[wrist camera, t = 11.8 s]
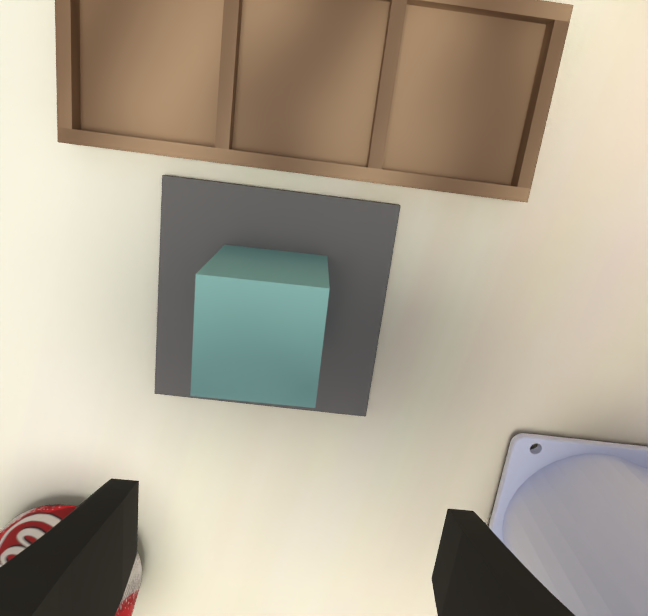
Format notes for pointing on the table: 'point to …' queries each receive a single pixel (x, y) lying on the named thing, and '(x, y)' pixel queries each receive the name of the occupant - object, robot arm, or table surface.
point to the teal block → (259, 326)
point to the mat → (283, 235)
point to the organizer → (318, 85)
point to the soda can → (41, 521)
